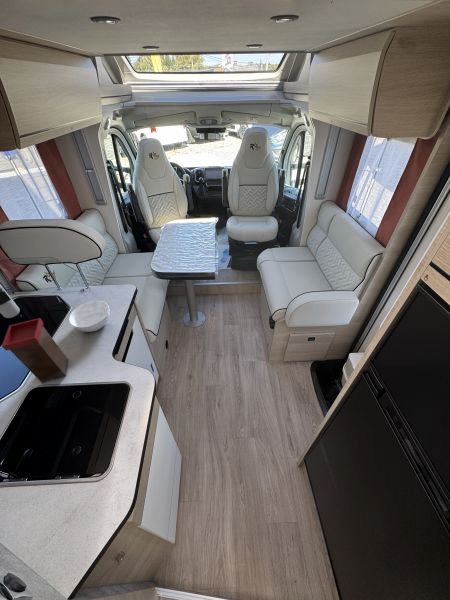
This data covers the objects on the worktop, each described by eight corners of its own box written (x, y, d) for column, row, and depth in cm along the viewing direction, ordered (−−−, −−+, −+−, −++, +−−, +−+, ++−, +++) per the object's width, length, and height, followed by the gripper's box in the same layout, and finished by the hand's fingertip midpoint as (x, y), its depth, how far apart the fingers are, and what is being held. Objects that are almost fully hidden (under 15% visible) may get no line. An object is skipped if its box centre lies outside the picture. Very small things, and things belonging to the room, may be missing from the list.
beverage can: (24, 309, 88) (3, 282, 80) (12, 319, 85) (-11, 292, 77) (12, 308, 89) (-10, 280, 81) (0, 317, 85) (-24, 290, 77)
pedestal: (42, 383, 103) (8, 349, 88) (45, 365, 110) (14, 330, 94) (66, 376, 105) (37, 341, 90) (68, 359, 112) (41, 324, 96)
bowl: (72, 319, 130) (66, 309, 125) (108, 306, 137) (104, 296, 132) (78, 343, 118) (72, 333, 113) (118, 327, 125) (113, 316, 120)
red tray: (6, 350, 87) (1, 346, 86) (13, 329, 94) (9, 325, 93) (38, 342, 90) (35, 337, 88) (43, 322, 97) (40, 318, 95)
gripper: (-70, 249, 71) (-26, 298, 83) (-41, 265, 65) (2, 315, 77) (-39, 238, 76) (-2, 285, 88) (-9, 251, 69) (27, 300, 82)
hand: (0, 299), depth 82 cm, fingers closed on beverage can, 4 cm apart
